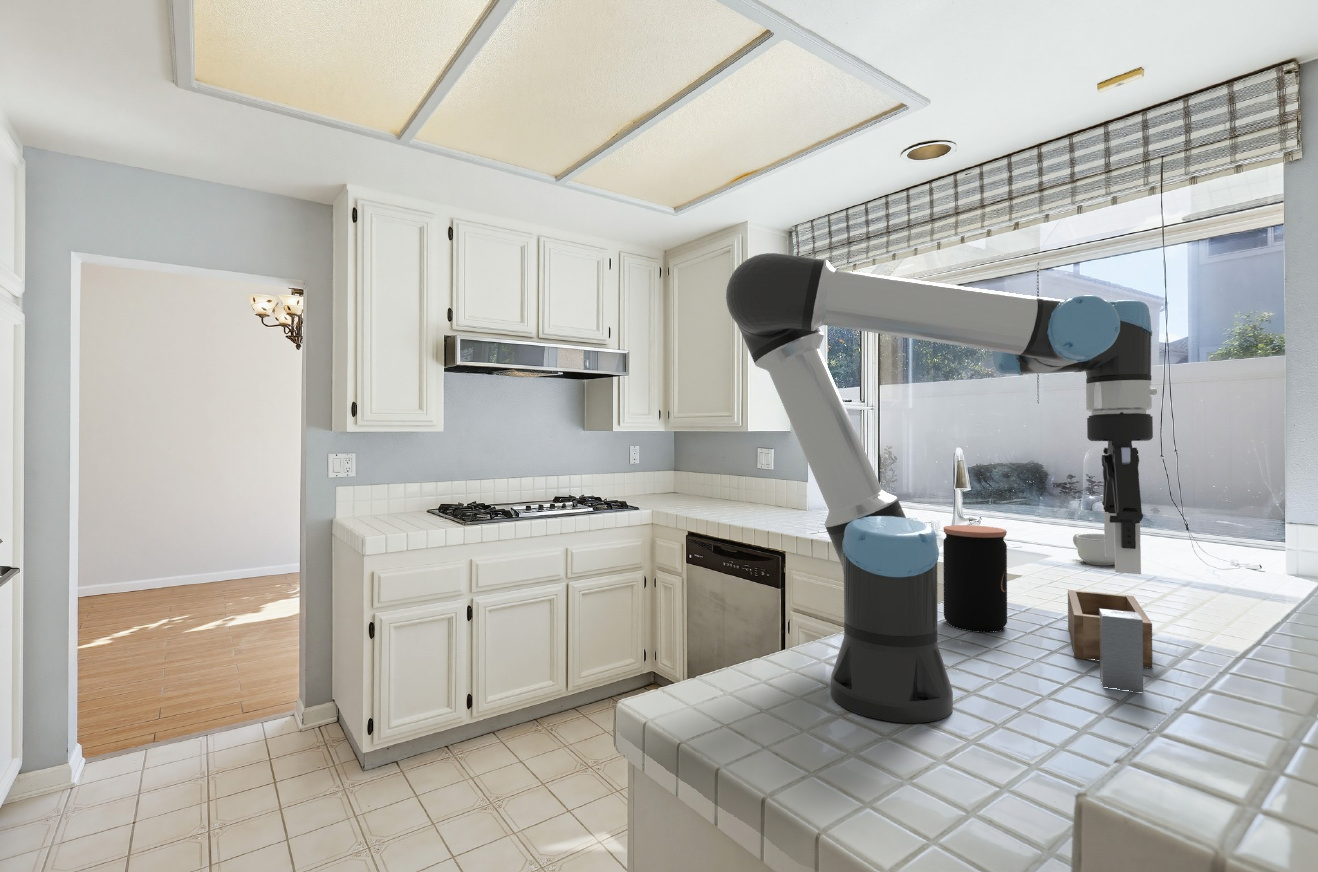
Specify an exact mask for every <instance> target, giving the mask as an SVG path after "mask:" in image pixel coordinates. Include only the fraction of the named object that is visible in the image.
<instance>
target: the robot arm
mask: <svg viewBox="0 0 1318 872" xmlns="http://www.w3.org/2000/svg"><path fill="white" fill-rule="evenodd" d="M725 291H726V294H725V299H726V301H725V302H726V305H727V309H728V312H729V314H730V317H731V318H732V320H734V322H735V323H736V325H737V327H738V329H739V331H740V333H741V336H742V338H743V340H744V342H745V345H746V347H747V349H748V351H749V354H750V356H751V358H752V360H753V363H754V365H755V367H756V368H760V369H762V370H765V371H767V372H768V373H769V375H770V378H771V380H772V383H773V385H774V387H775V389H776V393H777V394H778V397H779V399H780V401H781V403H782V406H783V407H784V411H785V412H786V414H787V417H788V419H789V422H790V424H791V426H792V429H793V431H794V433H795V436H796V437H797V440H798V443H799V445H800V447H801V449H802V452H803V453H804V457H805V459H806V461H807V462H808V465H809V468H810V470H811V472H812V475H813V477H814V479H815V481H816V484H817V486H818V488H819V491H820V493H821V496H822V498H823V500H824V503H825V504H826V507H827V509H828V514H827V516H826V519H825V521H824V524H823V525H824V527H825V529H826V532H827V535H828V536H829V538H830V541H831V543H832V546H833V548H834V550H835V553H836V555H837V557H838V559H839V562H840V564H841V567H842V571H843V572H842V573H843V599H844V600H843V610H844V611H843V622H844V623H843V625H844V626H843V629H844V631H843V632H844V633H843V638H842V642H841V644H840V649H839V650H838V654H837V657H836V660H835V663H834V666H833V668H832V671H831V677H830V695H831V698H832V699H833V700H834V702H836V703H837V704H838V705H840V706H841V707H842V708H844V709H846V710H848V711H850V712H853V713H855V714H858V715H860V716H864V717H867V718H872V719H874V720H875V719H876V720H881V721H886V722H893V723H906V724H907V723H908V724H914V723H915V724H918V723H919V724H920V723H930V722H935V721H939V720H942V719H944V718H946V717H949V716H950V715H951V714H952V712H953V711H954V703H953V702H954V699H953V698H954V697H953V696H954V694H953V688H952V685H951V681H950V679H949V676H948V672H947V670H946V665H945V664H944V660H943V658H942V655H941V654H942V653H941V651H940V648H939V641H938V637H939V635H938V632H939V631H938V625H939V623H938V619H939V618H938V561H939V555H940V549H939V545H938V540H937V534H936V532H935V530H934V529H933V527H931V526H930V525H928V524H927V523H925V522H923V521H920V520H914V519H911V518H908V517H906V515H905V511H904V509H903V508H902V506H901V503H900V501H899V499H898V497H897V496H896V495H893V494H891V493H888V492H887V491H885V490H883V489H882V486H881V484H880V482H879V479H878V477H877V474H876V473H875V470H874V469H873V466H872V463H871V461H870V459H869V457H868V455H867V453H866V450H865V449H864V446H863V443H862V441H861V439H860V437H859V434H858V432H857V430H856V427H855V425H854V424H853V421H852V419H851V417H850V415H849V412H848V410H847V407H846V405H845V403H844V401H843V399H842V396H841V394H840V392H839V389H838V387H837V385H836V383H835V381H834V379H833V376H832V374H831V372H830V370H829V368H828V365H827V363H826V361H825V359H824V356H823V354H822V352H821V349H820V348H821V345H822V343H823V339H824V337H825V334H824V332H823V330H822V328H821V327H822V326H828V327H835V328H842V329H846V330H847V329H848V330H854V331H860V332H861V331H862V332H867V333H874V334H880V335H888V336H893V337H900V338H907V339H912V340H913V339H914V340H919V341H920V340H921V341H927V342H931V343H932V342H933V343H939V344H947V345H952V346H957V347H958V346H959V347H965V348H972V349H979V350H986V351H992V361H993V366H994V368H995V370H996V371H997V372H998V373H1000V374H1002V375H1019V376H1023V375H1028V374H1029V375H1030V374H1032V375H1033V374H1034V375H1035V374H1053V373H1054V374H1057V373H1083V372H1084V373H1085V375H1086V379H1085V381H1086V382H1085V383H1086V384H1085V394H1086V395H1085V396H1086V398H1085V400H1086V401H1085V402H1086V403H1085V404H1086V407H1085V408H1086V409H1085V410H1086V411H1088V412H1090V413H1091V415H1088V417H1087V418H1086V421H1087V422H1086V426H1087V427H1086V430H1087V433H1086V435H1087V439H1088V440H1089V441H1090V442H1107V447H1106V446H1105V447H1104V449H1103V452H1102V453H1103V454H1101V459H1100V460H1101V466H1102V477H1103V495H1102V496H1103V497H1102V501H1101V505H1102V506H1103V507H1102V508H1103V511H1104V513H1103V518H1104V519H1103V521H1104V522H1103V523H1104V527H1103V530H1104V533H1103V534H1104V535H1105V557H1115V564H1114V572H1115V573H1118V574H1131V575H1142V559H1141V558H1142V556H1141V555H1142V554H1141V553H1142V552H1141V549H1142V548H1141V522H1142V520H1143V518H1144V513H1143V511H1142V499H1141V489H1140V488H1141V487H1140V473H1139V464H1140V455H1139V450H1138V448H1137V447H1133V442H1145V441H1147V442H1148V441H1151V440H1152V439H1153V438H1154V430H1153V429H1154V426H1153V423H1154V422H1153V420H1154V419H1153V417H1154V416H1152V415H1151V413H1147V411H1148V410H1151V409H1153V403H1152V402H1153V400H1152V396H1155V395H1157V394H1158V389H1157V388H1156V387H1151V386H1152V336H1153V330H1152V321H1151V315H1150V314H1151V313H1150V308H1149V306H1148V304H1147V303H1146V302H1143V301H1140V300H1134V299H1126V300H1125V299H1122V300H1115V301H1108V300H1106V299H1105V298H1102V297H1099V296H1096V295H1092V294H1091V295H1089V294H1086V295H1080V296H1073V297H1069V298H1066V299H1065V300H1064V299H1056V298H1050V297H1041V296H1040V297H1039V296H1032V295H1023V294H1016V293H1012V292H1011V293H1009V292H1004V291H996V290H989V289H980V288H973V287H965V286H959V285H953V284H946V283H938V282H937V283H936V282H931V281H924V280H915V279H910V278H901V277H893V276H888V275H887V276H886V275H879V274H873V273H872V274H871V273H866V272H865V273H864V272H858V271H850V270H844V269H843V270H842V269H835V268H834V267H833V266H832V264H831V263H830V262H829V261H828V260H827V259H822V258H821V259H820V258H813V257H805V256H798V255H793V254H785V253H775V252H773V253H769V252H768V253H760V254H757V255H754V256H751V257H750V258H748V259H745V261H743V262H741V264H739V265H738V267H737V268H735V270H734V271H733V273H732V274H731V276H730V278H729V280H728V283H727V285H726V289H725Z"/></svg>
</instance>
